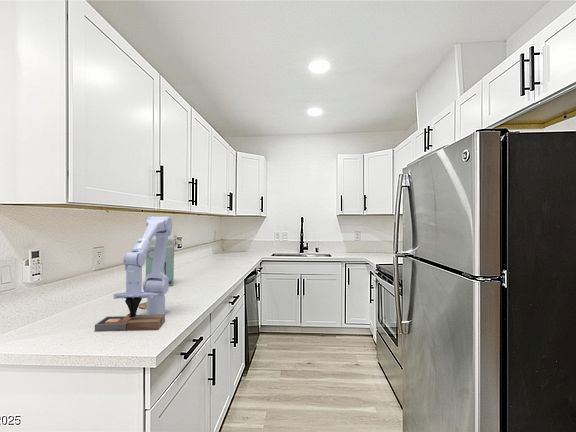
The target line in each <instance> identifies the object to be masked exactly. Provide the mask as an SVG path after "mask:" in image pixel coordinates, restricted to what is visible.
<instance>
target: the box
mask: <svg viewBox="0 0 576 432" xmlns="http://www.w3.org/2000/svg"><path fill="white" fill-rule="evenodd" d="M125 316H126V315H124V316H123V315H122V316H120V315H119V316H117V315H115V316H105V317H104V318H103V319H100V321H98V322H97V323H95V324H94V332H126V331H127V322H128V321H127V322H126V323H125V324H105V322H106V321H107V320H108V319H121V320H122V319H123V318H124V317H125ZM132 318H133V317H132ZM132 318H131V319H132ZM131 319H130V320H131Z"/></svg>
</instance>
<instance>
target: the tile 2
mask: <svg viewBox="0 0 576 432" xmlns="http://www.w3.org/2000/svg"><path fill="white" fill-rule="evenodd" d="M124 316H125V317H124V318H123V319H122V320H120V321H119V322H118V324H125V323H126V322H127V321H129V320H130V319H131V318H132V317H131V315H130V312H129V313H128V314H127V315H124Z"/></svg>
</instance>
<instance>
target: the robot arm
mask: <svg viewBox="0 0 576 432" xmlns="http://www.w3.org/2000/svg"><path fill="white" fill-rule="evenodd" d="M145 225H146V228H145V231H143V232H144V233H143V235H142V237H140V238H138V239H137V240H136V241H135V243H134V245H133V247H132V248H131V249H130V251H128V252H127V253H125V254H124V257H123V260H122V261H123V265H124V271H125V272H126V273H125V281H126V282H125V292H116V293H114V294H113V299H114V300H116V299H125V300H124V303H125V304H126V306H127V307H128V308H127V309H128V310H129V313H130V315H131V317H135V316H136V315H137V312H138V308H139V304H141V301H142V299H146V302H147V309H146V313H145V314H144V315H151V314H165V315H166V313H167V312H168V310H167V309H166V297H165V295H166V294H167V293H168V291H169V288H170V286H169V283H168V281H169V278H168V277H167V276H166V275H165V274H164V273H163V271H164V263H165V256H166V249H167V241H168V239H169V237H170V236H171V235H172V232H173V231H172V230H173V221H172V218H171V217H170V216H152V215H150V216H148V217H147V219H146V223H145ZM154 237H155V238H156V245H155V252H154V259H153V265H152V272H151V273H150V274H148V275H147V276H146V275H145V278H144V281H143V282H142V280H143V279H142V278H143V266H144V265H145V264H146V253H147V251H148V250H149V248H150V246H151V244H150V241H151V239H154ZM153 279H162V280H153ZM142 290H143V291H142Z"/></svg>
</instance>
